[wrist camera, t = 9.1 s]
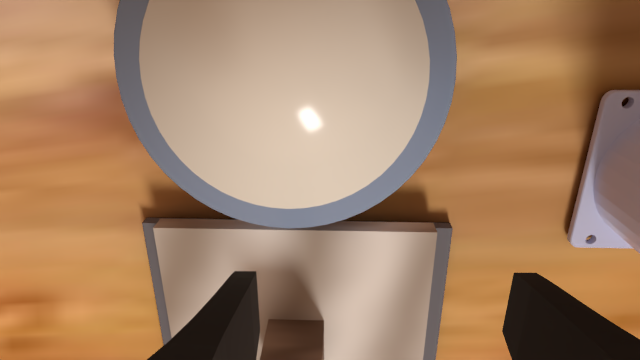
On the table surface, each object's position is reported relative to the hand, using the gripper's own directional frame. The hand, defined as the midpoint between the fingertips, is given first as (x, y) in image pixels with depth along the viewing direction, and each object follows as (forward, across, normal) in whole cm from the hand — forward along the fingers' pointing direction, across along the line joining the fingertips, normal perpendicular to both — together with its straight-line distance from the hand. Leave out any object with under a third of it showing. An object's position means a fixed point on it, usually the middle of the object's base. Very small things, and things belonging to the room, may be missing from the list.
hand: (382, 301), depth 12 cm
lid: (+10, +3, +10) cm, 14 cm away
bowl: (+10, +3, -5) cm, 12 cm away
